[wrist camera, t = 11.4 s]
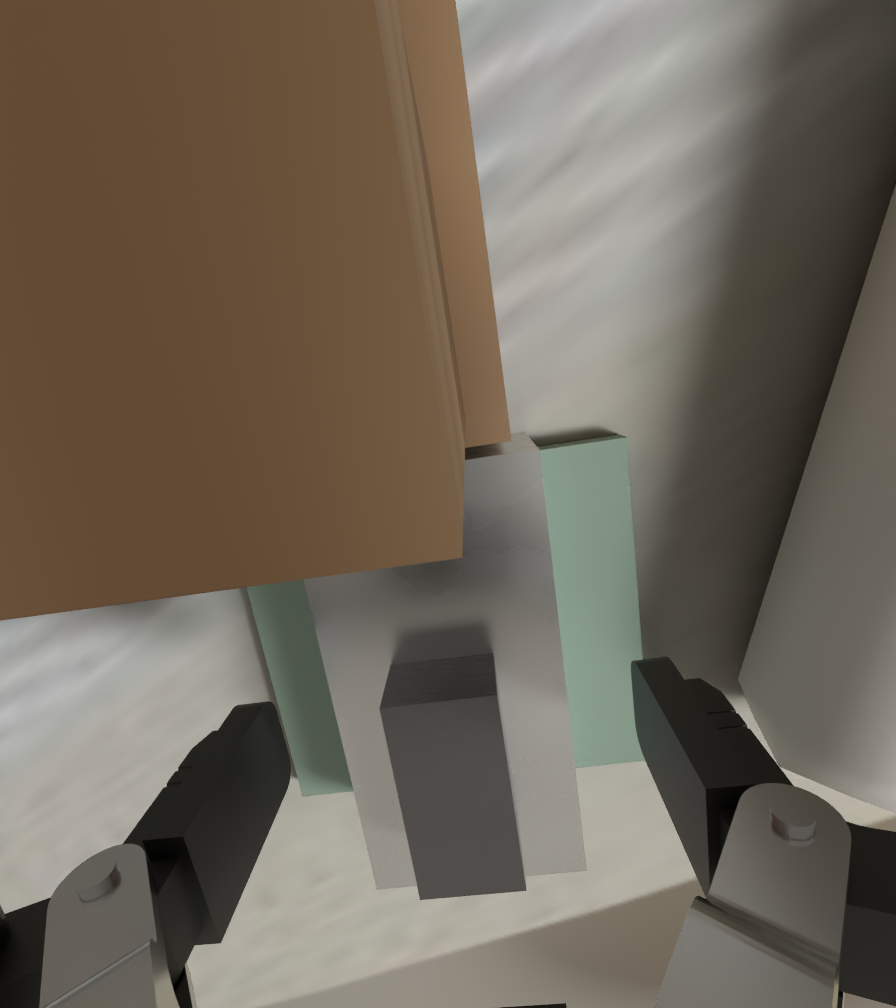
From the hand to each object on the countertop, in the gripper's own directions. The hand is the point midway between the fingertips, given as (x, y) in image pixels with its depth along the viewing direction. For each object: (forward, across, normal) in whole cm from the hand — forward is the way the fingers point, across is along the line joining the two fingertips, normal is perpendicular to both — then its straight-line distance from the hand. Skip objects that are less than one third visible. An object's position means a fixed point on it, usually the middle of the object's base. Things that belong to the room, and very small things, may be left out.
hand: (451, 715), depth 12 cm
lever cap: (+4, 0, 0) cm, 4 cm away
